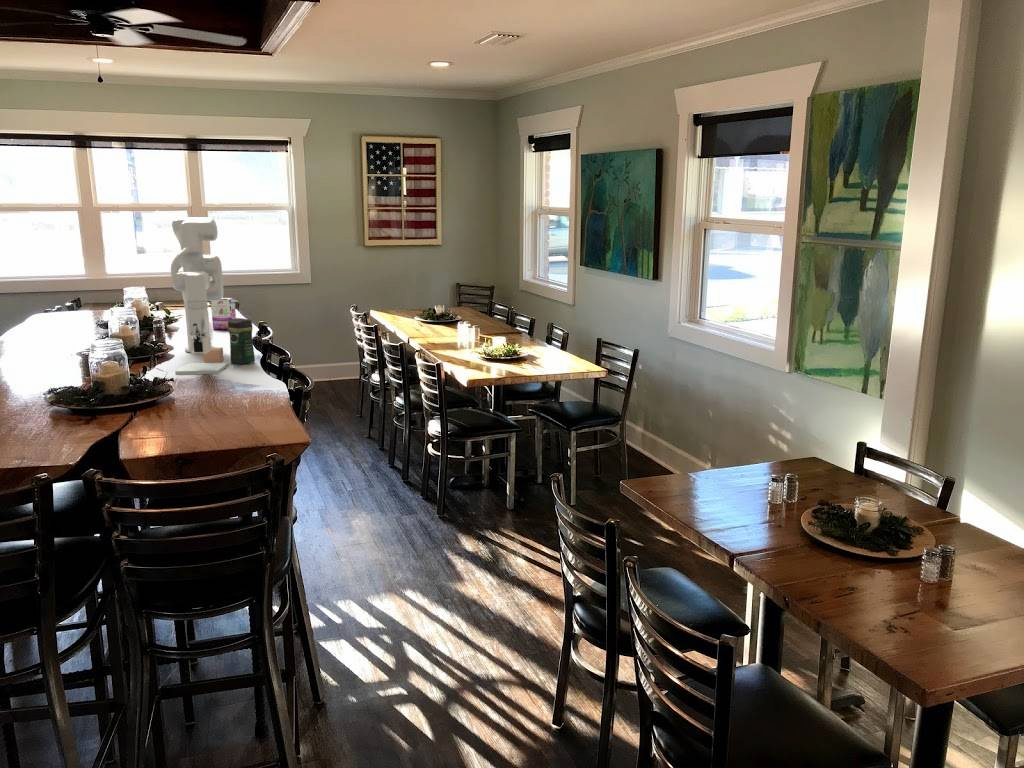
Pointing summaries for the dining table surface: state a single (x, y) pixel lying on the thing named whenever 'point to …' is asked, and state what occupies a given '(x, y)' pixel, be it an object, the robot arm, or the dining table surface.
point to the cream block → (205, 343)
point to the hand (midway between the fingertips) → (201, 350)
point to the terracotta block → (214, 356)
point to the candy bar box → (222, 312)
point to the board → (202, 368)
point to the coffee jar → (241, 341)
